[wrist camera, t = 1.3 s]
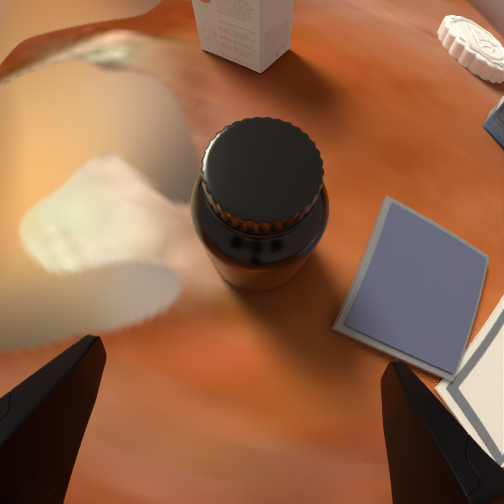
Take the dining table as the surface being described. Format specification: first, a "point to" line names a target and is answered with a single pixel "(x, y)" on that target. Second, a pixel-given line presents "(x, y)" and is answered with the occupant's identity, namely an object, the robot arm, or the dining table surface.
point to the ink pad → (414, 291)
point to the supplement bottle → (260, 202)
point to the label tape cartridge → (496, 122)
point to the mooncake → (473, 47)
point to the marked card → (481, 387)
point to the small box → (245, 30)
